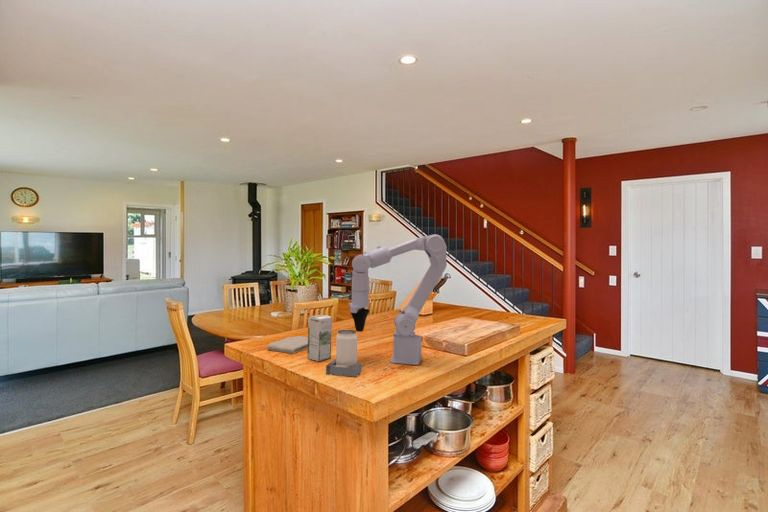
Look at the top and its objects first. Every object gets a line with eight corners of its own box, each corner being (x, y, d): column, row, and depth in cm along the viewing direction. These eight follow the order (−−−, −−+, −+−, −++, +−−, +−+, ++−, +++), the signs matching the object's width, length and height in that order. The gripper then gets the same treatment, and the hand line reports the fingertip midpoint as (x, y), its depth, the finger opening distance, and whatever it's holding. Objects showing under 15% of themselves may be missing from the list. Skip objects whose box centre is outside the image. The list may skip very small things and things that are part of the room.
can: (352, 374, 117) (353, 334, 117) (332, 372, 119) (333, 333, 118) (359, 367, 123) (360, 330, 123) (340, 365, 125) (340, 328, 124)
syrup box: (319, 355, 137) (320, 314, 137) (331, 358, 133) (332, 316, 133) (307, 358, 133) (307, 316, 132) (318, 362, 129) (319, 318, 129)
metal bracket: (373, 359, 134) (373, 350, 134) (356, 377, 115) (356, 367, 115) (347, 356, 136) (347, 348, 136) (326, 374, 117) (326, 364, 117)
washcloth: (321, 344, 154) (321, 337, 154) (293, 355, 138) (293, 347, 138) (296, 341, 159) (297, 333, 159) (266, 351, 142) (266, 343, 142)
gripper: (355, 288, 139) (354, 326, 139) (341, 292, 125) (340, 334, 125) (374, 288, 138) (374, 327, 138) (362, 293, 123) (362, 336, 124)
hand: (359, 331), depth 131 cm, fingers closed
